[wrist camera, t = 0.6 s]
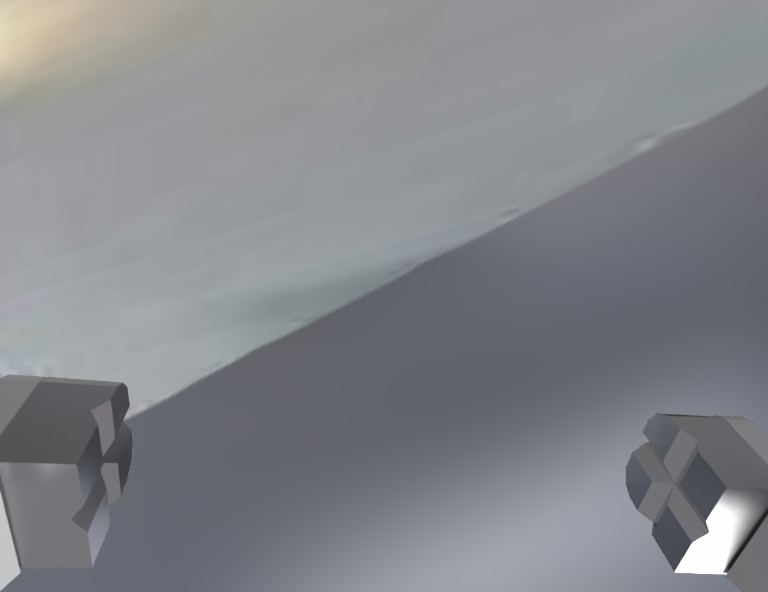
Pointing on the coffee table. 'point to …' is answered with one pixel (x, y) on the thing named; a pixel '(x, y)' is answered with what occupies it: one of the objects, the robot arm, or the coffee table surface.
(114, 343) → the coffee table surface
